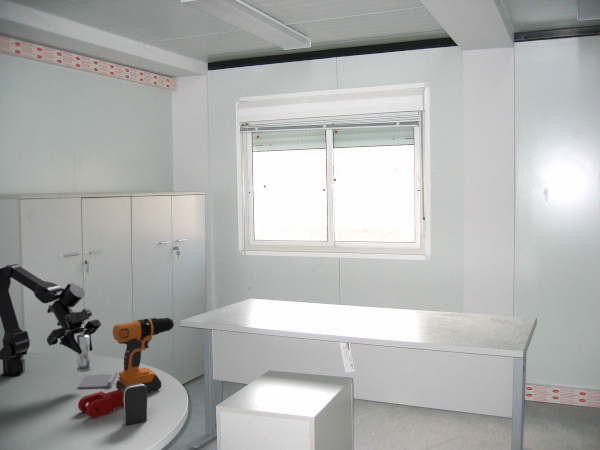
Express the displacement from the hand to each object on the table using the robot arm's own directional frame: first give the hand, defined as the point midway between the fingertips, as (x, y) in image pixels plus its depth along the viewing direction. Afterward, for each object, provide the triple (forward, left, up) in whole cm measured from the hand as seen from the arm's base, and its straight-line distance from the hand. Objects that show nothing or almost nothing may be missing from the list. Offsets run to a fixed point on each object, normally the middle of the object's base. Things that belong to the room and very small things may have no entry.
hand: (86, 351), depth 202 cm
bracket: (+2, +7, -13) cm, 15 cm away
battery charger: (+20, -28, -13) cm, 37 cm away
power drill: (+20, -2, -13) cm, 24 cm away
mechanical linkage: (+10, -18, -14) cm, 25 cm away
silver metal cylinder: (-1, +1, -7) cm, 7 cm away
